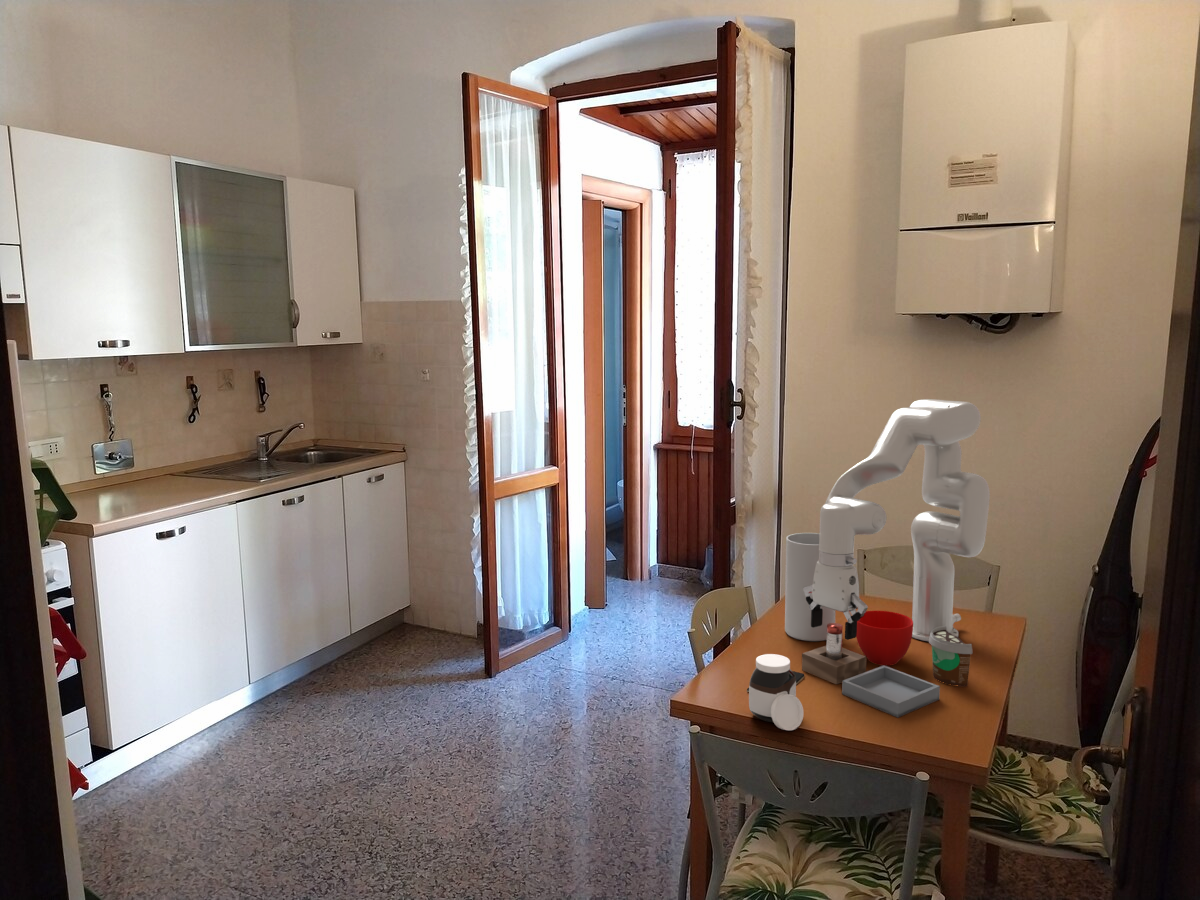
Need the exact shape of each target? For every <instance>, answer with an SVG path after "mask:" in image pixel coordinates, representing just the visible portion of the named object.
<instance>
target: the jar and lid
mask: <svg viewBox="0 0 1200 900" xmlns="http://www.w3.org/2000/svg"><path fill="white" fill-rule="evenodd" d="M793 671H794V670H792V669H791V660H790V658H788V657H787V656H784V655H781V654H776V653H775V654H774V653H764V654H762V655H759V656H757V657H756V658H755V669H754V670H753V671H752V673H751V676H750V679H749V684H748V685H749V687H748V688H749V693H748V707H749V710H750V712H751V714H752V715H753V716H755V717H756V718H757V719H759V720H761V721H763V722H766V723H767V722H768V723H774V725H775V726H776V727H777V728H778V729H781V730H783V731H794V730H796V729H798V728H799V726H800V725H801V724H802V722H803V719H804V707H803V704H802V702H801V700H800V699H799V697H797V684H796V678H795V675H794V673H793Z"/></svg>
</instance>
